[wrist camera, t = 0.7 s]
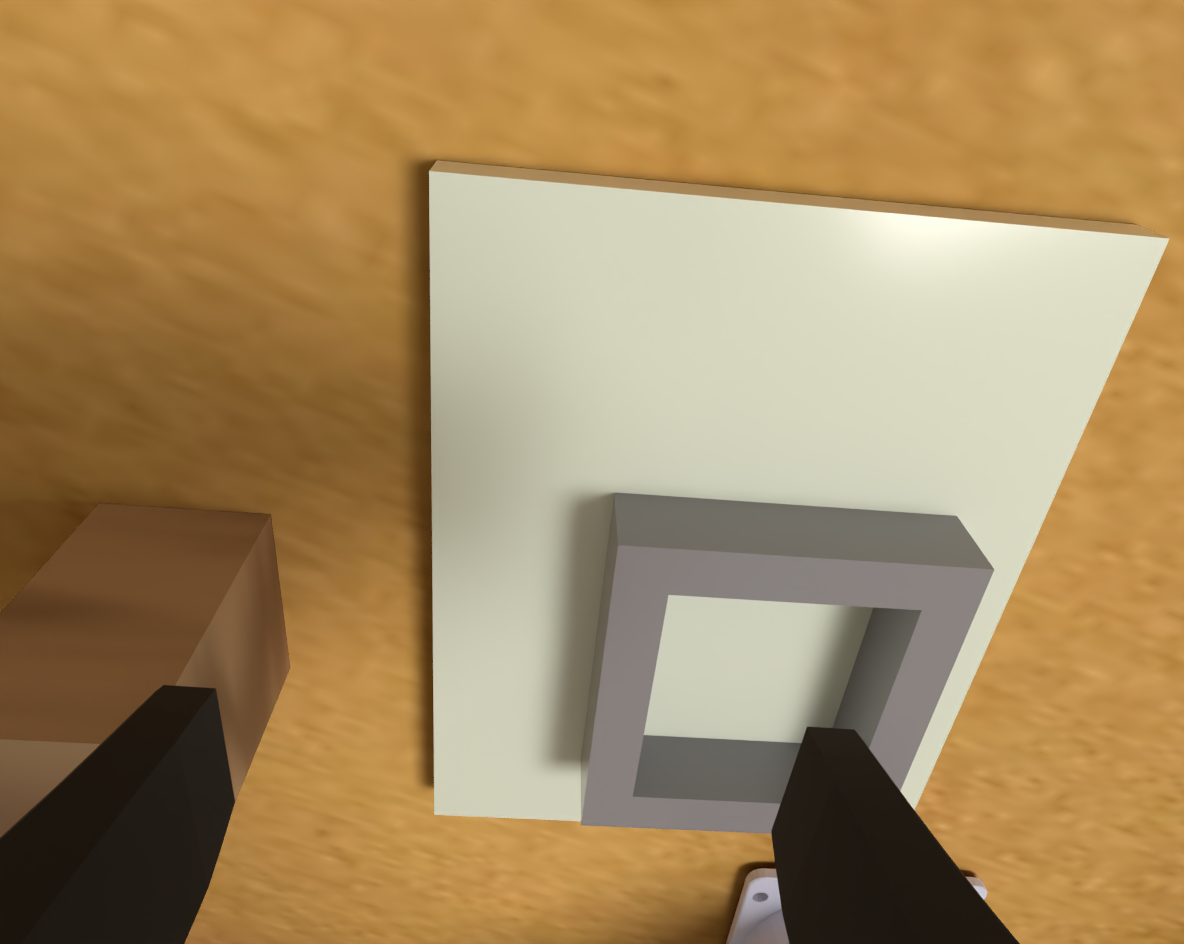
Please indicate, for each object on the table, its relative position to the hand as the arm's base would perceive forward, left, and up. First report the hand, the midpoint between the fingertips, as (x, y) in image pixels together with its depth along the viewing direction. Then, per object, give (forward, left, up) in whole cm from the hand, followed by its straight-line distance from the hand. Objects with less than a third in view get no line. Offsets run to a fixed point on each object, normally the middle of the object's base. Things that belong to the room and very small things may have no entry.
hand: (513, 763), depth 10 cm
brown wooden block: (-6, +8, -10) cm, 14 cm away
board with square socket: (-4, -5, -10) cm, 11 cm away
